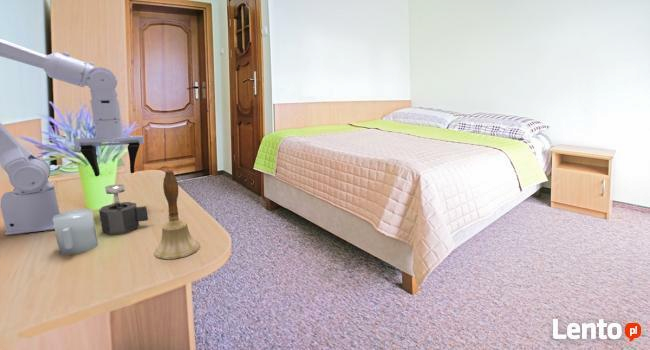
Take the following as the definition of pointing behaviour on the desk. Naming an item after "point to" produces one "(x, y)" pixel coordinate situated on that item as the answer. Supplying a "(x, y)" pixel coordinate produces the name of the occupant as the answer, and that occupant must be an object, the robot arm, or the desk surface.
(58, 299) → the desk surface
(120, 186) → the grey flared round piece
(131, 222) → the grey octagonal pot
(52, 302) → the desk surface
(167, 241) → the hand bell
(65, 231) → the white dome with tab
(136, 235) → the desk surface
